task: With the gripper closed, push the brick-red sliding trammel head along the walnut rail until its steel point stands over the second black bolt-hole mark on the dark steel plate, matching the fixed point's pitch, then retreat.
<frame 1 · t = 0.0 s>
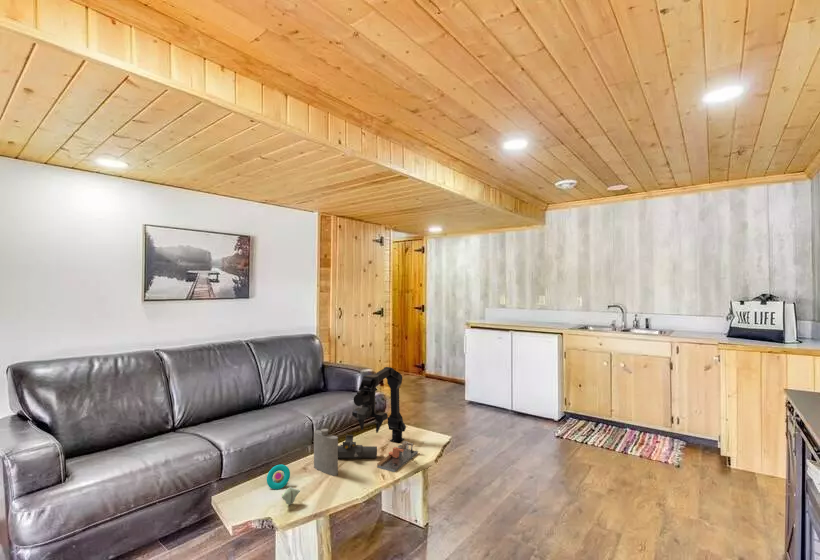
hand: (369, 431, 210), 15 cm above the table, fingers open, 9 cm apart
hip flask: (324, 471, 198), on the table
trammel head: (396, 452, 210), point 4 cm above the table, slide at 0.0 cm
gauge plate: (398, 460, 209), on the table
robot head: (289, 504, 168), on the table
ornament: (278, 485, 184), on the table
laser sight: (354, 458, 212), on the table
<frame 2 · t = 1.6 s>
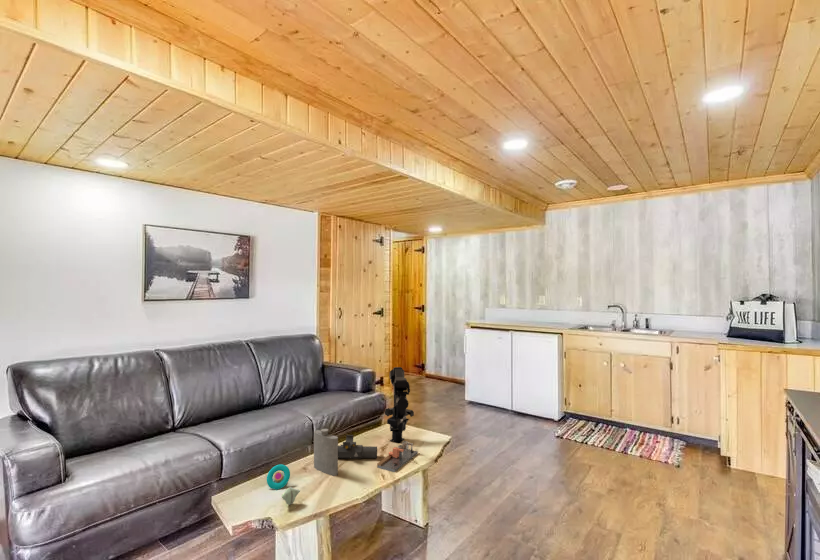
hand: (400, 433, 214), 12 cm above the table, fingers closed
nothing on the table moved.
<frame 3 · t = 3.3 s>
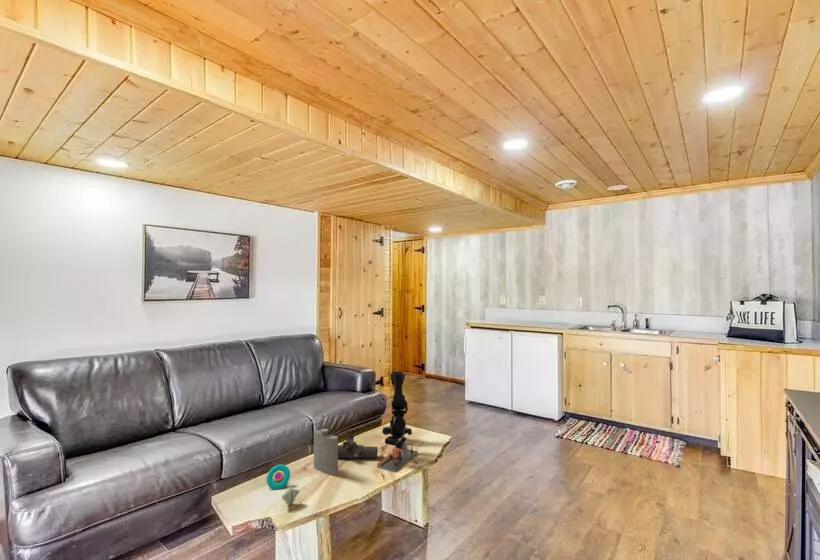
hand: (398, 452, 212), 3 cm above the table, fingers closed
trammel head: (396, 452, 210), point 4 cm above the table, slide at 0.3 cm, touching gripper
everything else where it was.
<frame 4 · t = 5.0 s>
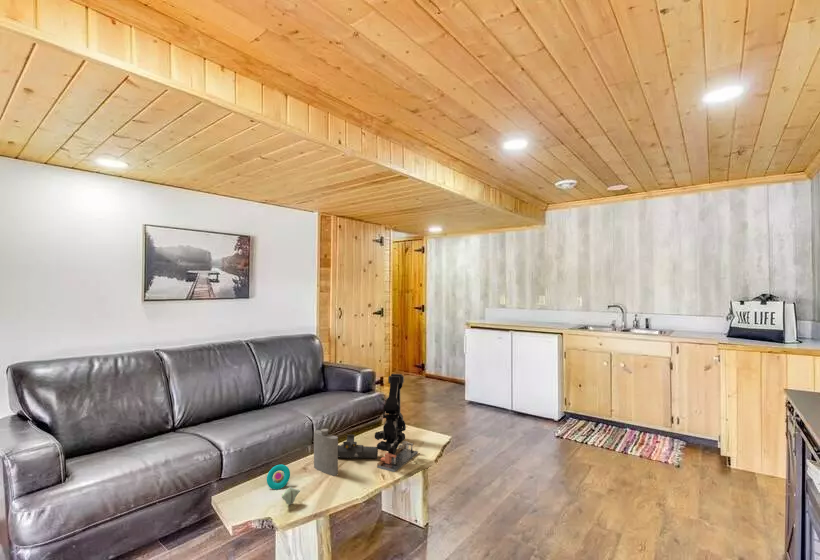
hand: (391, 457, 206), 3 cm above the table, fingers closed
trammel head: (388, 458, 203), point 4 cm above the table, slide at 7.7 cm, touching gripper
everything else where it was.
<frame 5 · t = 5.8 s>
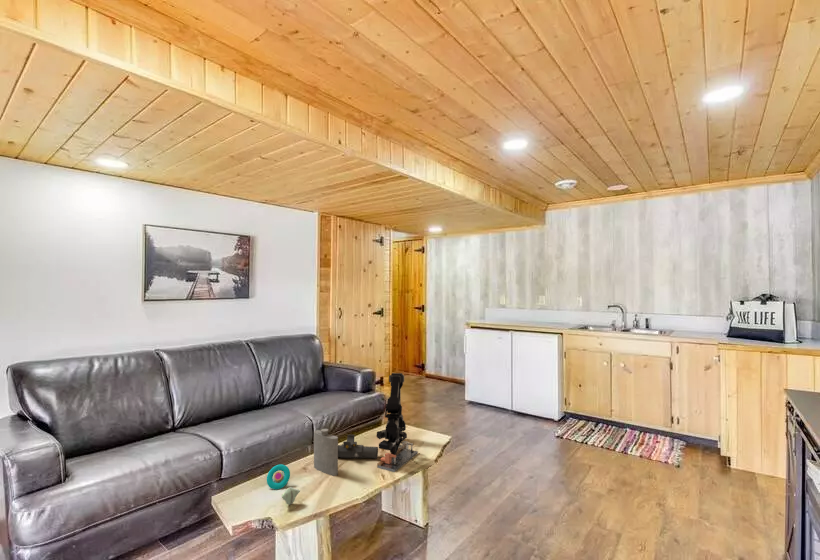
hand: (393, 456, 208), 2 cm above the table, fingers closed
trammel head: (388, 458, 203), point 4 cm above the table, slide at 7.7 cm
everything else where it was.
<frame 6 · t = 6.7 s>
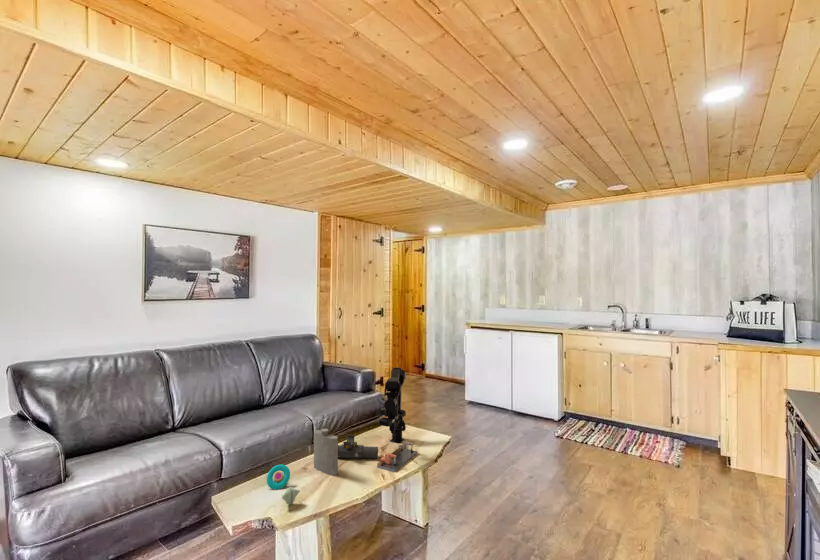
hand: (392, 433, 216), 11 cm above the table, fingers closed
nothing on the table moved.
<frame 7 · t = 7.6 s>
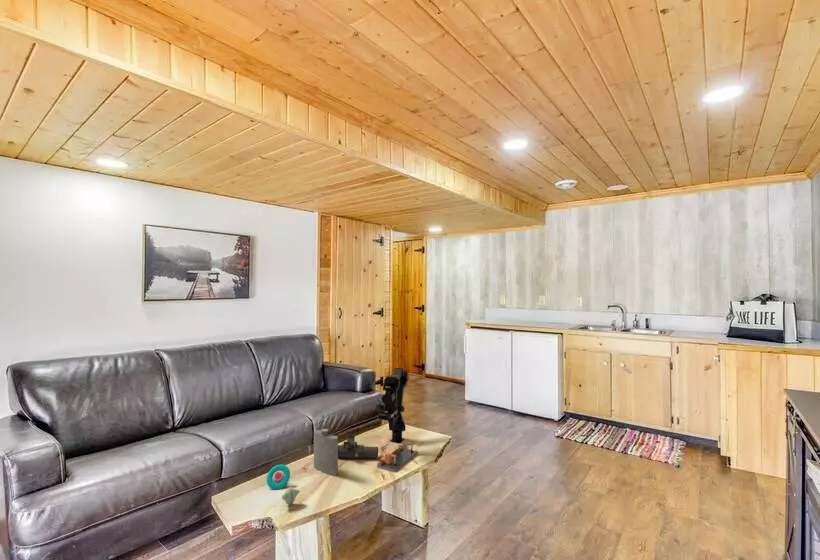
hand: (391, 428, 222), 12 cm above the table, fingers closed
nothing on the table moved.
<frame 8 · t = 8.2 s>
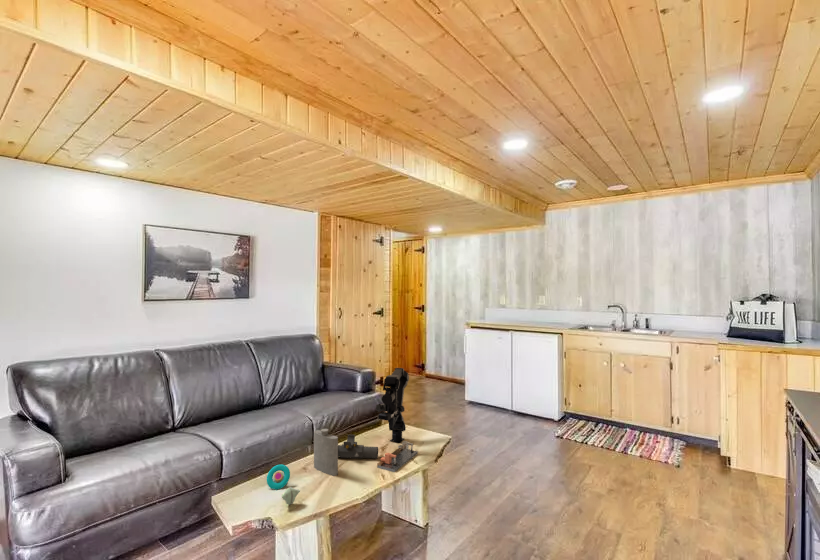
hand: (391, 428, 222), 12 cm above the table, fingers closed
nothing on the table moved.
at the end: trammel head slide at 7.7 cm; trammel head touching nothing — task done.
